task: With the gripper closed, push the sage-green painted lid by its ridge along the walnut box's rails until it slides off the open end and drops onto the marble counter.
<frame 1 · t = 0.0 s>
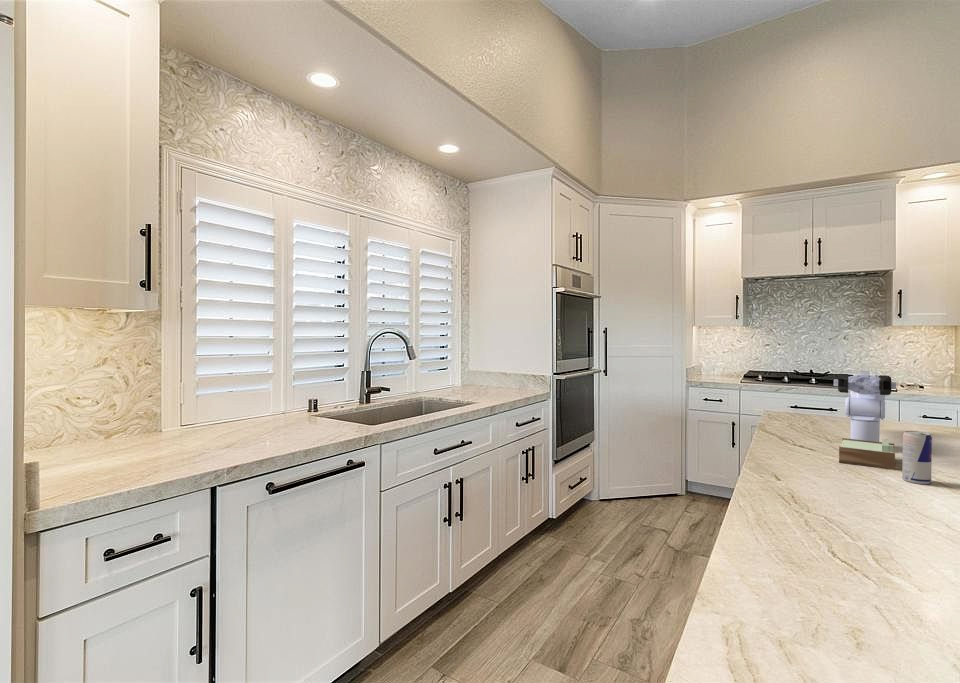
hand: (863, 384, 140), 22 cm above the countertop, tool horizontal, fingers open, 7 cm apart
lid: (867, 448, 141), point 3 cm above the countertop, touching box
energy drink: (916, 482, 122), on the countertop
box: (866, 460, 141), on the countertop
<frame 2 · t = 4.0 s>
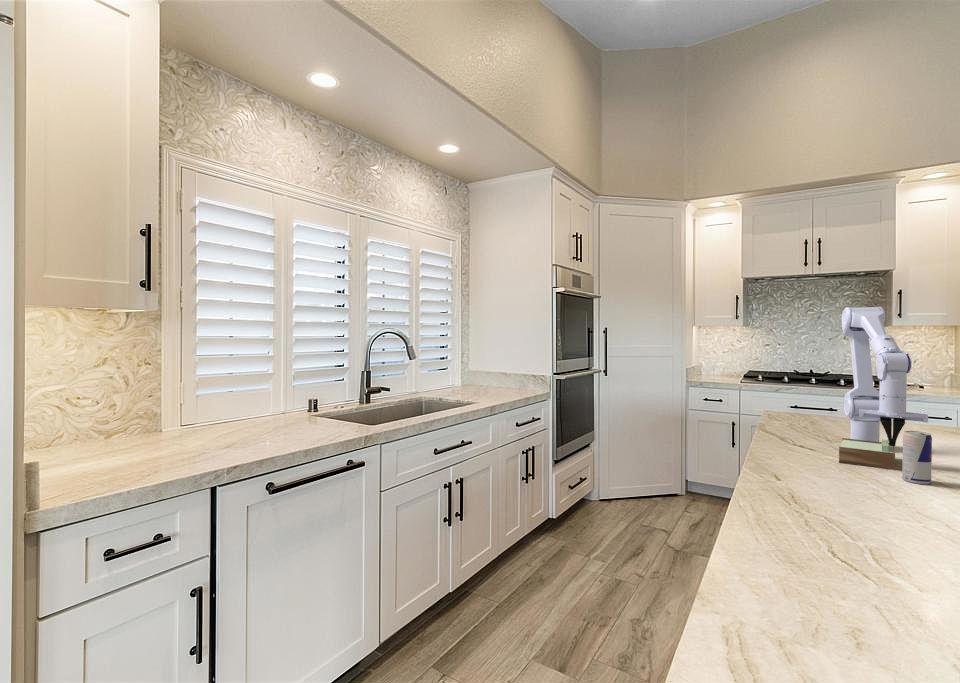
hand: (892, 445, 137), 5 cm above the countertop, tool pointing down, fingers closed
lid: (866, 448, 141), point 3 cm above the countertop, touching box, gripper
everything else where it was.
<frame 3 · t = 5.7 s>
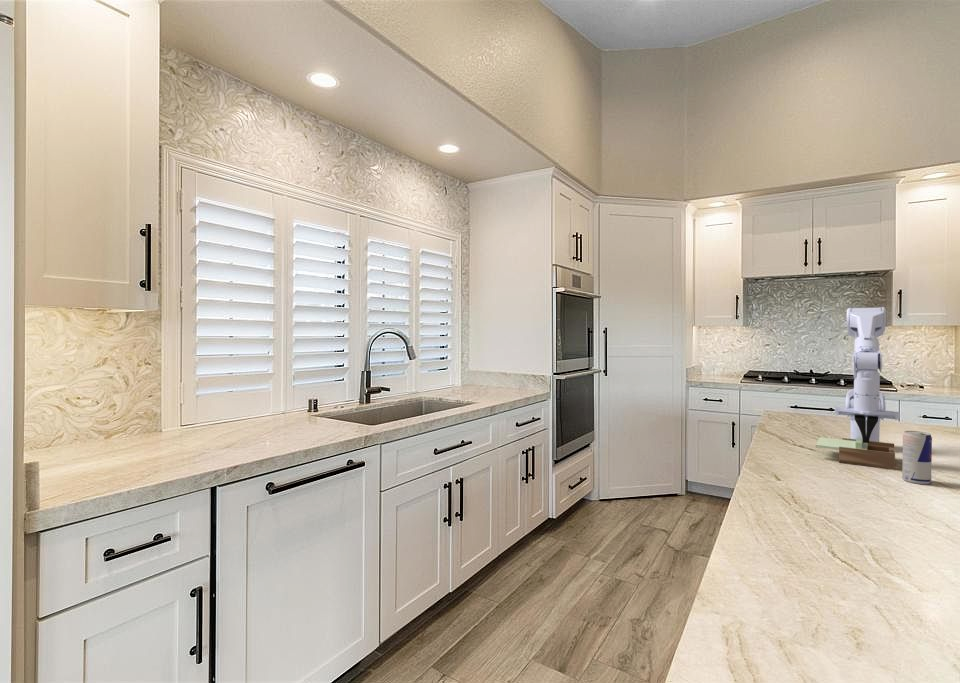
hand: (866, 442, 141), 5 cm above the countertop, tool pointing down, fingers closed
lid: (841, 445, 144), point 3 cm above the countertop, touching box, gripper
everything else where it was.
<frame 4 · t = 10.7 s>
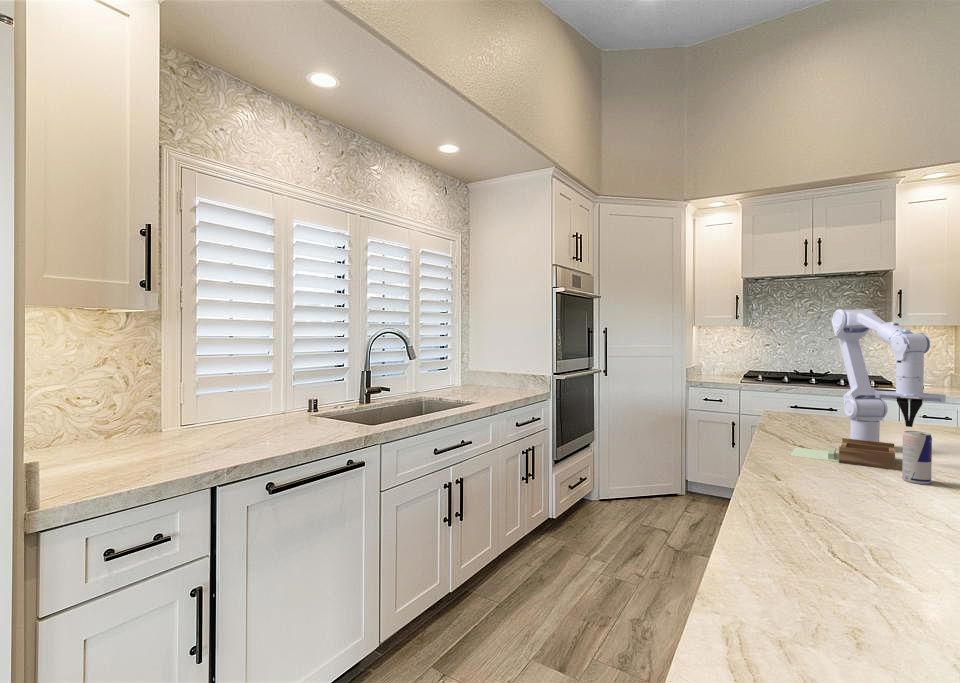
hand: (908, 426, 137), 10 cm above the countertop, tool pointing down, fingers closed
lid: (815, 456, 148), on the countertop
everything else where it was.
at the end: lid on the countertop; lid moved 12.7 cm from its start; lid inside the target area (1.3 cm from its centre), on the countertop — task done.
